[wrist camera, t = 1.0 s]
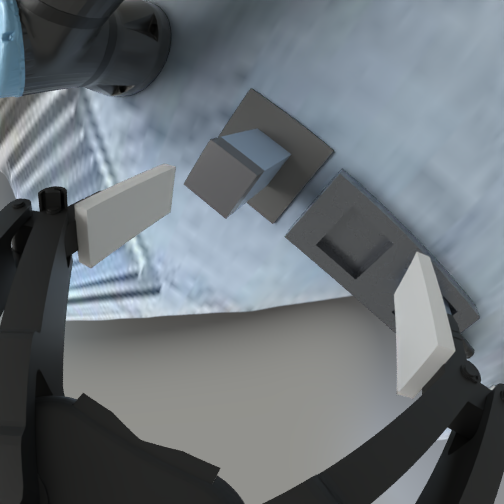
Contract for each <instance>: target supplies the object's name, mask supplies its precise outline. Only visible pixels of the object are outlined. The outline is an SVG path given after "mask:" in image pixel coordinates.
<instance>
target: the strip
mask: <svg viewBox="0 0 504 504" xmlns="http://www.w3.org/2000/svg"><path fill="white" fill-rule="evenodd" d="M285 238H287V239H288V240H289V241H290V242H291V243H292V244H294V245H295V246H296V247H297V248H298V249H300V250H301V251H302V252H303V253H304V254H306V255H307V256H308V257H309V258H310V259H311V260H313V261H314V262H315V263H316V264H317V265H318V266H320V267H321V268H322V269H323V270H324V271H325V272H327V273H328V274H329V275H330V276H331V277H332V278H334V279H335V280H336V281H337V282H338V283H339V284H340V285H342V286H343V287H344V288H345V289H346V290H347V291H349V292H350V293H351V294H352V295H353V296H354V297H355V298H357V299H358V300H359V301H360V302H361V303H362V304H363V305H365V306H366V307H367V308H368V309H369V310H370V311H371V312H372V313H374V314H375V315H376V316H377V317H378V318H379V319H381V321H383V322H384V323H385V324H386V325H387V326H388V327H389V328H390V329H391V330H393V331H394V332H395V333H396V320H395V304H394V294H395V292H396V290H397V288H398V286H399V285H400V283H401V281H402V279H403V277H404V275H405V274H406V272H407V270H408V268H409V266H410V264H411V262H412V260H413V258H414V256H415V254H416V252H419V253H422V254H424V255H426V256H429V257H430V259H431V262H432V265H433V268H434V272H435V275H436V278H437V281H438V284H439V288H440V291H441V295H442V297H443V298H444V299H445V300H446V301H447V302H448V303H449V307H450V310H451V314H452V316H453V317H454V319H455V320H456V322H457V324H458V327H459V331H460V333H461V332H462V331H464V330H465V329H466V328H468V327H469V326H470V325H472V324H473V323H474V322H475V321H477V320H478V319H479V318H480V316H479V313H478V311H477V308H476V305H475V304H474V303H473V301H472V300H471V299H470V298H469V296H468V295H467V294H466V293H465V292H464V290H463V289H462V288H461V287H460V286H459V285H458V283H457V282H456V281H455V280H454V279H453V278H452V276H451V275H450V274H449V273H448V272H447V271H446V270H445V268H444V267H443V266H442V265H441V264H440V263H439V262H438V261H437V260H436V259H435V257H434V256H433V255H432V254H431V253H430V252H429V251H428V250H427V249H426V248H425V247H424V246H423V245H422V244H421V243H420V241H419V240H418V239H417V238H416V237H415V236H414V235H413V234H412V233H411V232H410V231H409V230H408V229H407V228H406V227H405V226H404V225H403V224H402V223H401V222H400V221H399V220H398V219H397V218H396V217H395V216H394V215H393V214H392V213H391V212H390V211H389V210H387V209H386V208H385V207H384V206H383V205H382V204H381V203H380V202H379V201H378V200H377V199H376V198H375V197H374V196H373V195H372V194H370V193H369V192H368V191H367V190H366V189H365V188H364V187H363V186H362V185H361V184H359V183H358V182H357V181H356V180H355V179H354V178H353V177H351V176H350V175H349V174H348V173H347V172H346V171H345V170H343V169H341V170H340V172H339V173H338V174H337V175H336V176H335V177H334V179H333V180H332V181H331V182H330V183H329V184H328V185H327V187H326V188H325V189H324V190H323V191H322V192H321V194H320V195H319V196H318V197H317V198H316V199H315V200H314V202H313V203H312V204H311V205H310V206H309V207H308V208H307V210H306V211H305V212H304V213H303V214H302V215H301V216H300V218H299V219H298V220H297V221H296V222H295V223H294V224H293V226H292V227H291V228H290V229H289V231H288V232H287V234H286V236H285ZM461 338H462V340H461V341H462V342H463V346H464V350H465V355H466V359H469V358H471V357H472V356H473V354H474V349H473V348H472V346H471V345H470V344H469V343H468V342H467V341H466V340H465V338H464V337H463V336H462V335H461Z"/></svg>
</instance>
